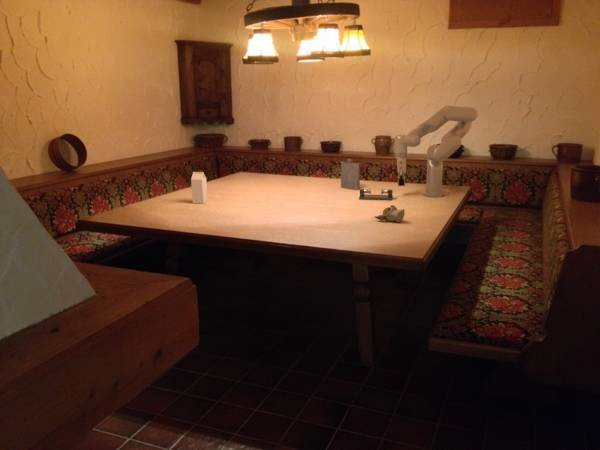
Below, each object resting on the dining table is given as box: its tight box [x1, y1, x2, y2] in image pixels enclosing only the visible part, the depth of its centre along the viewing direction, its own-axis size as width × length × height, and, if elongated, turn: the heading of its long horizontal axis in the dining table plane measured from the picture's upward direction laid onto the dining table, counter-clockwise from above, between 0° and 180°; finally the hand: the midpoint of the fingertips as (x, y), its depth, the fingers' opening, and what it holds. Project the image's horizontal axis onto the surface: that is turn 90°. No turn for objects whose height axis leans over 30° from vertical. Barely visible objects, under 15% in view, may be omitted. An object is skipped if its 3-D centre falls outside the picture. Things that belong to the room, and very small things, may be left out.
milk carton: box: [190, 171, 209, 205], centre depth 325 cm, size 7×7×19 cm
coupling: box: [397, 174, 406, 187], centre depth 331 cm, size 4×4×7 cm
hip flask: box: [340, 158, 361, 191], centre depth 358 cm, size 16×4×20 cm, turn 43°
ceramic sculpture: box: [374, 204, 405, 223], centre depth 274 cm, size 11×9×15 cm
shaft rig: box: [358, 188, 394, 201], centre depth 327 cm, size 20×9×6 cm, turn 78°
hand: (401, 184), depth 331 cm, fingers closed on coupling, 4 cm apart
